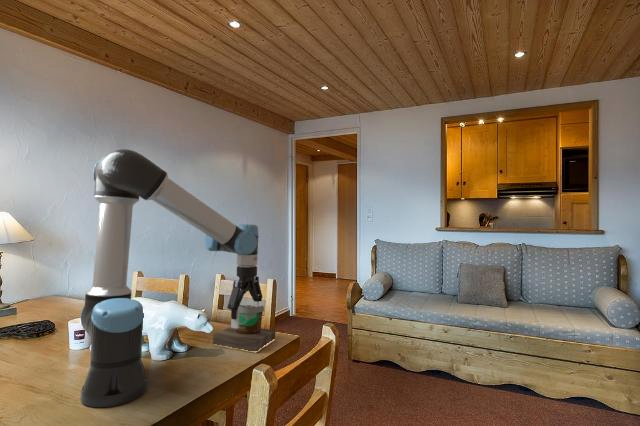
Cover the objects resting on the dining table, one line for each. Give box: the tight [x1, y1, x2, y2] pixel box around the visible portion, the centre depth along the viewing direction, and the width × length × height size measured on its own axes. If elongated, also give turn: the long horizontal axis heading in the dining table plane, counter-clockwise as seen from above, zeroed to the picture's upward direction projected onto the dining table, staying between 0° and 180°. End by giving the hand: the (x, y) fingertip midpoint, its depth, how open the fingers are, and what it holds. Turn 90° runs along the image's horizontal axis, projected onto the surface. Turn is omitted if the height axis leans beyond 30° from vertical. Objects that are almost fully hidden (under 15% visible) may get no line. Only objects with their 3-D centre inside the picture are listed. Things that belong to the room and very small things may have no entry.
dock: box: [212, 326, 277, 351], centre depth 133 cm, size 14×18×4 cm
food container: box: [236, 304, 265, 335], centre depth 133 cm, size 12×6×10 cm, turn 73°
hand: (245, 323), depth 133 cm, fingers open, 13 cm apart
